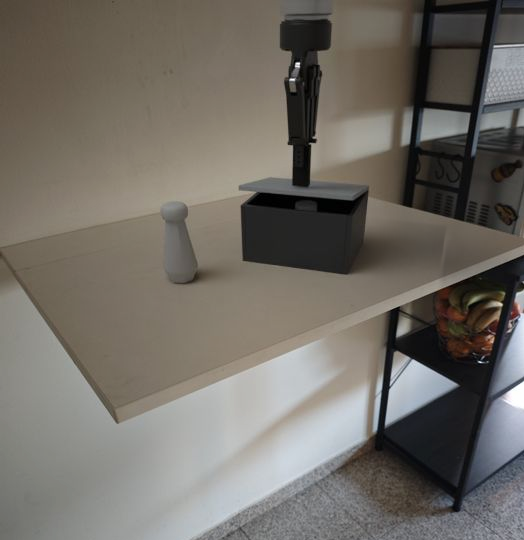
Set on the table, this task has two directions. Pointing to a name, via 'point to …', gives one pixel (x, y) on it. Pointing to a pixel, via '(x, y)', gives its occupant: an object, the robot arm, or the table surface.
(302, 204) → the pill bottle
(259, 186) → the grey box lid
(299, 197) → the box
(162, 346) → the table surface
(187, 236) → the salt shaker
